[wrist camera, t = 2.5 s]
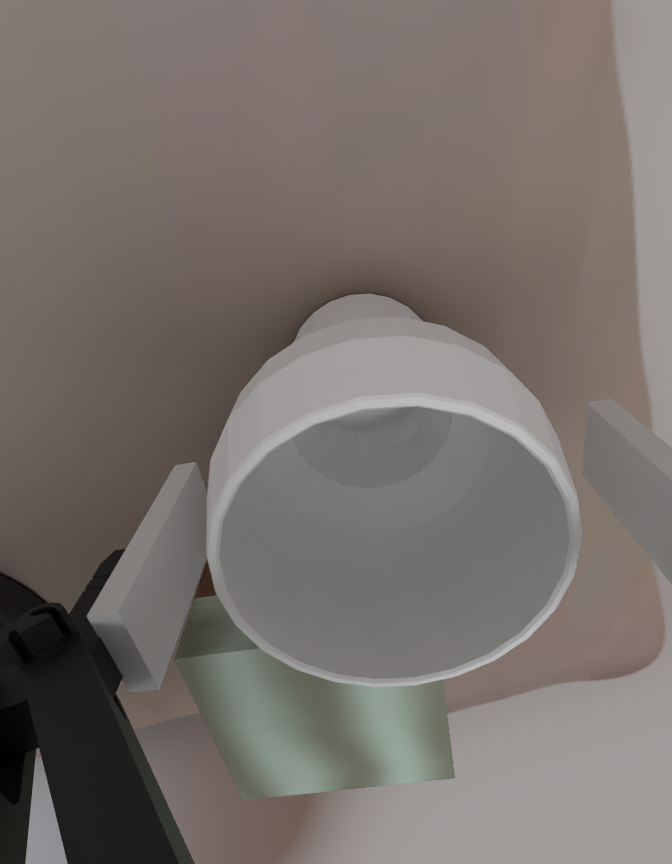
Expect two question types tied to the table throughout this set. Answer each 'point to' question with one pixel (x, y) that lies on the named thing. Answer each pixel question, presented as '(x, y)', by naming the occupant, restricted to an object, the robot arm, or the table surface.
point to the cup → (388, 502)
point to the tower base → (305, 716)
